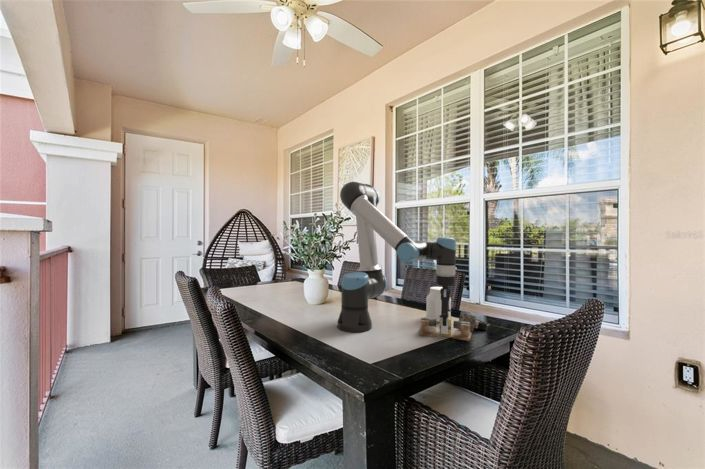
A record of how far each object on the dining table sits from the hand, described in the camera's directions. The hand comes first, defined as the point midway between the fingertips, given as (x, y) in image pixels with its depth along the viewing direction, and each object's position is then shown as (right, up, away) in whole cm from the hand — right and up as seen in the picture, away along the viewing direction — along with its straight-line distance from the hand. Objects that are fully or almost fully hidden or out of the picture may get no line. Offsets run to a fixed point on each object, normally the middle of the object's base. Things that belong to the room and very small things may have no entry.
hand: (444, 330), depth 135 cm
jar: (+3, -2, +23) cm, 23 cm away
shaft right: (+6, -2, -2) cm, 7 cm away
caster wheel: (+15, -2, +9) cm, 17 cm away
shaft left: (-6, -2, +2) cm, 7 cm away
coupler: (0, -2, 0) cm, 2 cm away
